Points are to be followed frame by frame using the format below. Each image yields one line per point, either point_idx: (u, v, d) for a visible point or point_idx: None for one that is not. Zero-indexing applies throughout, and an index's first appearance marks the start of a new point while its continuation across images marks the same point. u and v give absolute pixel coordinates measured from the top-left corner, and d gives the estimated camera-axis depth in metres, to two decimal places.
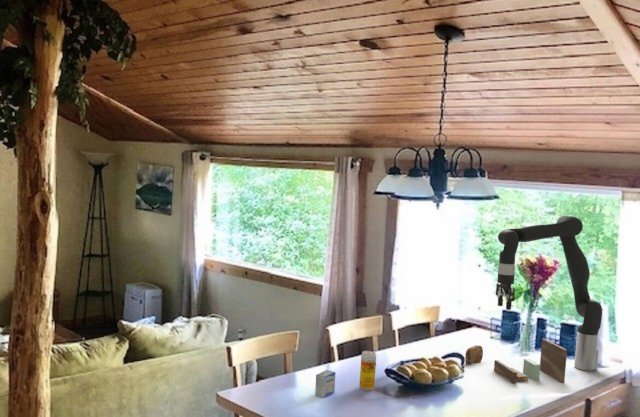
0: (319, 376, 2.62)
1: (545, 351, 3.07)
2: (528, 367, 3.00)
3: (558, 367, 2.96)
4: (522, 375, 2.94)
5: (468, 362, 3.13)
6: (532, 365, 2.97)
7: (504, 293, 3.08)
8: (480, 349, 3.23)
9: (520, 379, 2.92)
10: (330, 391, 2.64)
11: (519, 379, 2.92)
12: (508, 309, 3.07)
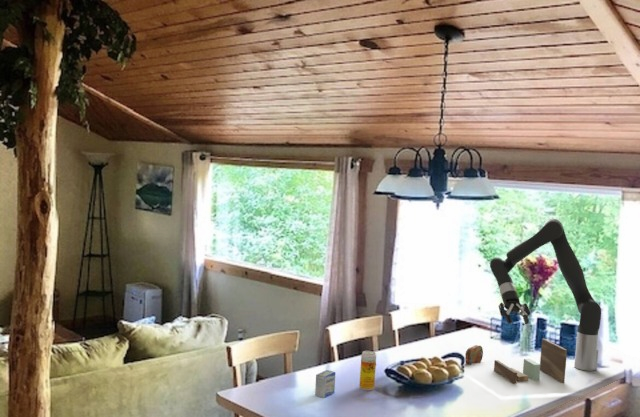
0: (319, 376, 2.62)
1: (545, 351, 3.07)
2: (528, 367, 3.00)
3: (558, 367, 2.96)
4: (522, 375, 2.94)
5: (468, 362, 3.13)
6: (532, 365, 2.97)
7: None
8: (480, 349, 3.23)
9: (520, 379, 2.92)
10: (330, 390, 2.64)
11: (519, 379, 2.92)
12: (509, 323, 3.12)
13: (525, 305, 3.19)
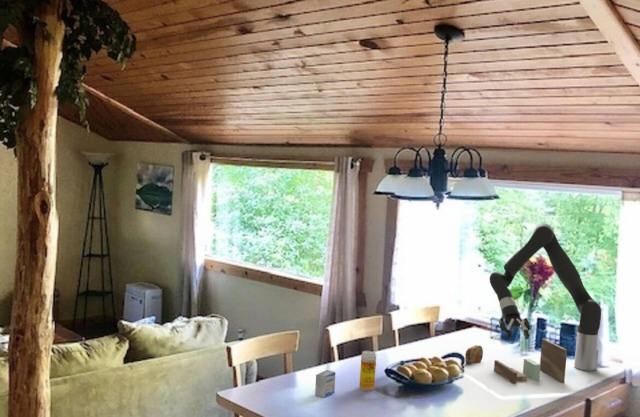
0: (319, 376, 2.62)
1: (545, 351, 3.07)
2: (528, 367, 3.00)
3: (558, 367, 2.96)
4: (521, 375, 2.94)
5: (468, 362, 3.13)
6: (532, 365, 2.97)
7: None
8: (480, 349, 3.23)
9: (519, 379, 2.93)
10: (330, 390, 2.64)
11: (518, 379, 2.92)
12: (509, 338, 3.11)
13: (525, 320, 3.18)
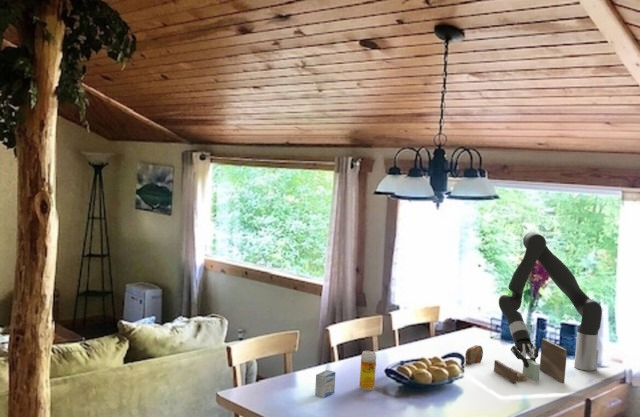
0: (319, 376, 2.62)
1: (545, 351, 3.07)
2: None
3: (558, 367, 2.96)
4: (522, 375, 2.94)
5: (468, 362, 3.13)
6: (532, 365, 2.97)
7: None
8: (480, 349, 3.23)
9: (520, 379, 2.93)
10: (330, 391, 2.64)
11: (519, 379, 2.92)
12: (526, 366, 3.00)
13: (536, 347, 3.07)
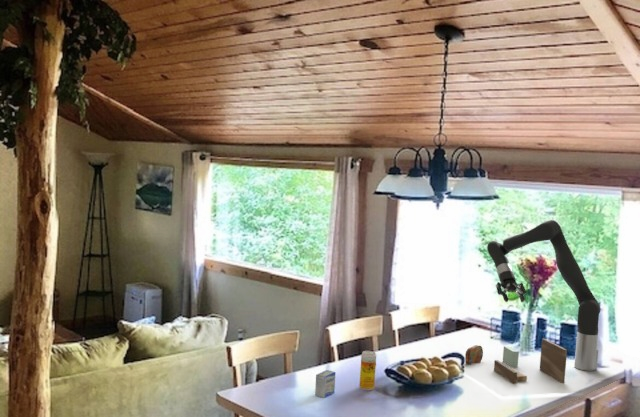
0: (319, 376, 2.62)
1: (545, 351, 3.07)
2: (507, 353, 3.19)
3: (558, 367, 2.96)
4: (521, 375, 2.94)
5: (468, 362, 3.13)
6: (511, 352, 3.15)
7: (504, 290, 3.36)
8: (480, 349, 3.23)
9: (519, 379, 2.92)
10: (330, 391, 2.64)
11: (518, 379, 2.92)
12: (506, 301, 3.30)
13: (521, 284, 3.37)
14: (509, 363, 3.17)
